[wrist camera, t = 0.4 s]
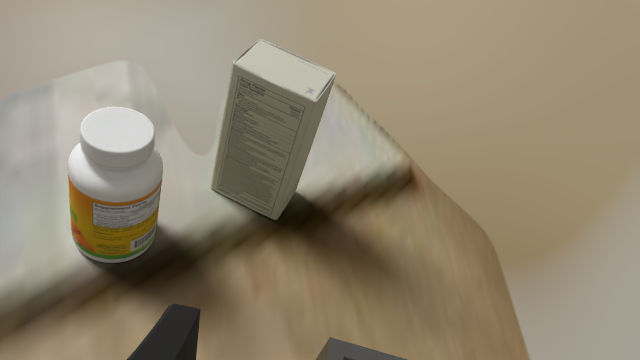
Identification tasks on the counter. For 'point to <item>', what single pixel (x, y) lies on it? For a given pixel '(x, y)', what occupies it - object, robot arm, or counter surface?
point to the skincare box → (268, 126)
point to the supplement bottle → (114, 185)
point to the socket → (351, 352)
